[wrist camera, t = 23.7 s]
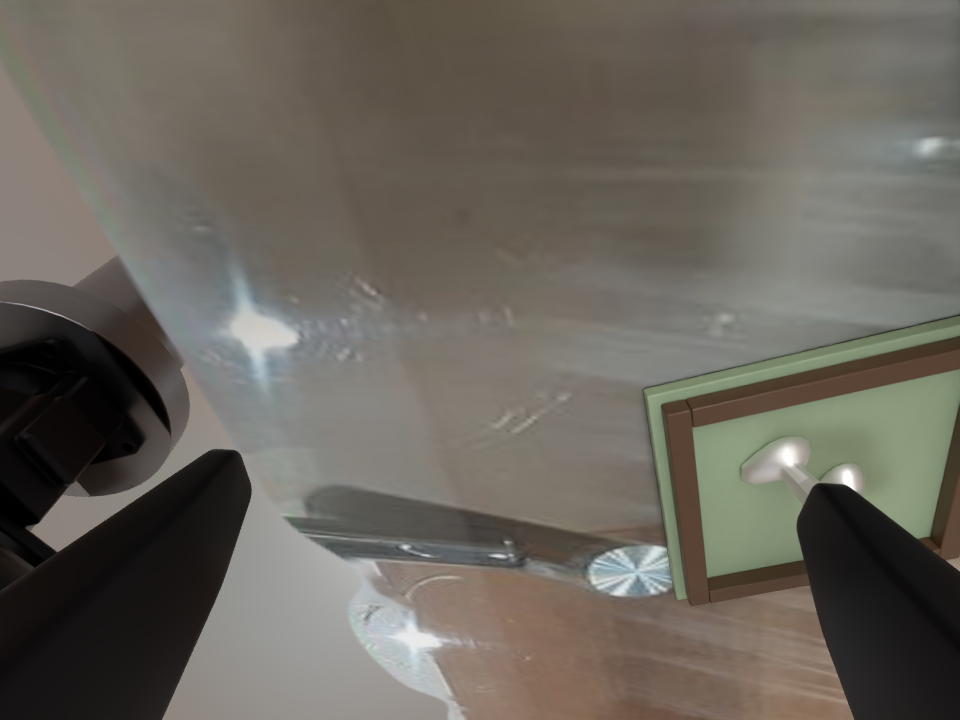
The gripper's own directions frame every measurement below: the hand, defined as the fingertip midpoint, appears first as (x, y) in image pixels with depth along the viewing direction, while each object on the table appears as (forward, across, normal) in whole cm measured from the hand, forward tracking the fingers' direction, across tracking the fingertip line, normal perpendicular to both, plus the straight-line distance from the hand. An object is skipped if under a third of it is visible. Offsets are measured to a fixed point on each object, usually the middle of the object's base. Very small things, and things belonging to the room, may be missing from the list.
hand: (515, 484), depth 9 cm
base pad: (+13, -14, +12) cm, 23 cm away
